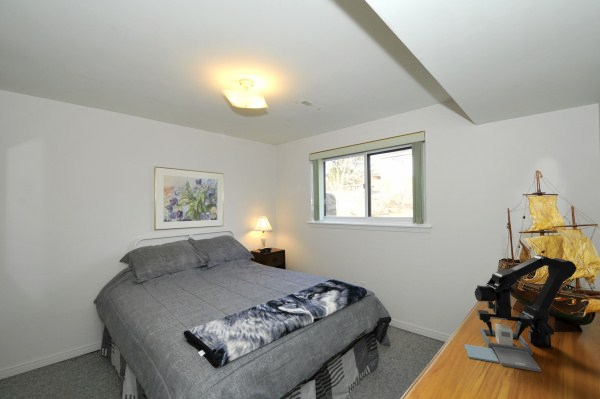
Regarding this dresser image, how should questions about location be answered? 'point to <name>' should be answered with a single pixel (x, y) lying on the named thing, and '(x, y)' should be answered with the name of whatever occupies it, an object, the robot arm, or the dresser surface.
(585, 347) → the dresser surface
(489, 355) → the mat
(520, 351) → the grey open frame
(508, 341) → the block
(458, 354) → the dresser surface
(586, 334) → the dresser surface
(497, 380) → the dresser surface
